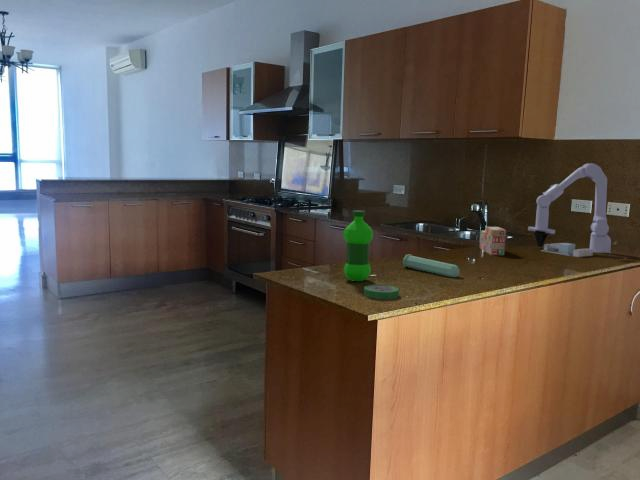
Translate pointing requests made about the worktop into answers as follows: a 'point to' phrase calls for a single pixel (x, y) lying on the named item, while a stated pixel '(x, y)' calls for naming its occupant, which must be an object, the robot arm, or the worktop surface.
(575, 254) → the vise
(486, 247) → the printed cardboard box
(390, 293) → the tape roll
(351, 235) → the plastic bottle
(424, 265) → the container
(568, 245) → the steel block
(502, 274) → the worktop surface
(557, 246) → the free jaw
